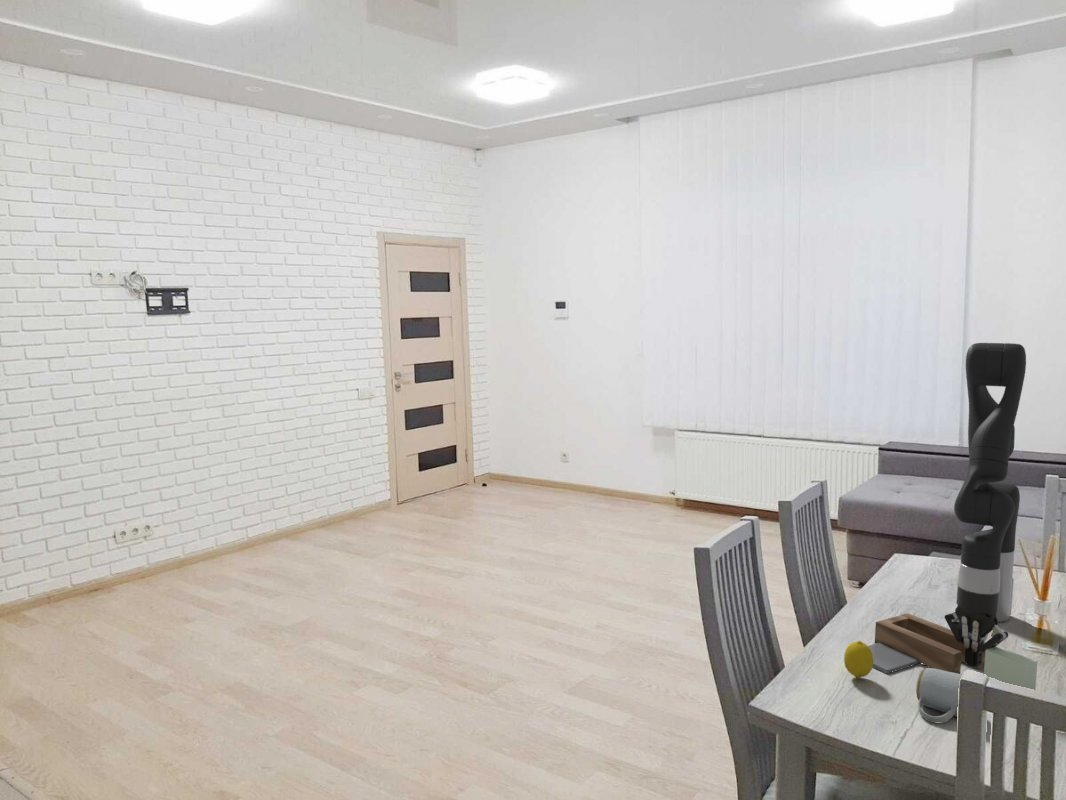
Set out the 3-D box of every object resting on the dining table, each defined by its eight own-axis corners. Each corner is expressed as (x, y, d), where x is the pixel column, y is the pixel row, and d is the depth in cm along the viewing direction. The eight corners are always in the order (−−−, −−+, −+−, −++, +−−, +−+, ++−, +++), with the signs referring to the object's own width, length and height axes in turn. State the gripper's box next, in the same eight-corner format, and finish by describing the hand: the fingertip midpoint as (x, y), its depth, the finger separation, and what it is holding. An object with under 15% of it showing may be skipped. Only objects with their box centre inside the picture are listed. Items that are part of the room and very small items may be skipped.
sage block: (995, 678, 166) (997, 645, 165) (1034, 695, 159) (1037, 661, 158) (983, 682, 164) (985, 649, 163) (1022, 699, 157) (1025, 665, 156)
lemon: (874, 685, 162) (876, 647, 162) (845, 683, 164) (847, 645, 163) (869, 673, 168) (871, 636, 167) (841, 671, 169) (842, 634, 168)
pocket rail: (906, 633, 188) (908, 613, 187) (985, 666, 171) (987, 643, 171) (874, 643, 183) (875, 622, 182) (952, 677, 166) (954, 654, 165)
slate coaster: (878, 646, 181) (878, 642, 181) (918, 663, 172) (918, 660, 172) (847, 655, 176) (847, 651, 176) (886, 673, 168) (887, 670, 168)
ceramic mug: (926, 695, 159) (928, 658, 158) (971, 709, 153) (974, 671, 152) (907, 716, 151) (909, 677, 150) (954, 731, 146) (957, 691, 144)
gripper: (1021, 593, 162) (1015, 675, 164) (960, 573, 173) (954, 650, 175) (998, 599, 158) (992, 683, 160) (937, 579, 170) (932, 657, 172)
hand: (972, 666), depth 168 cm, fingers closed
